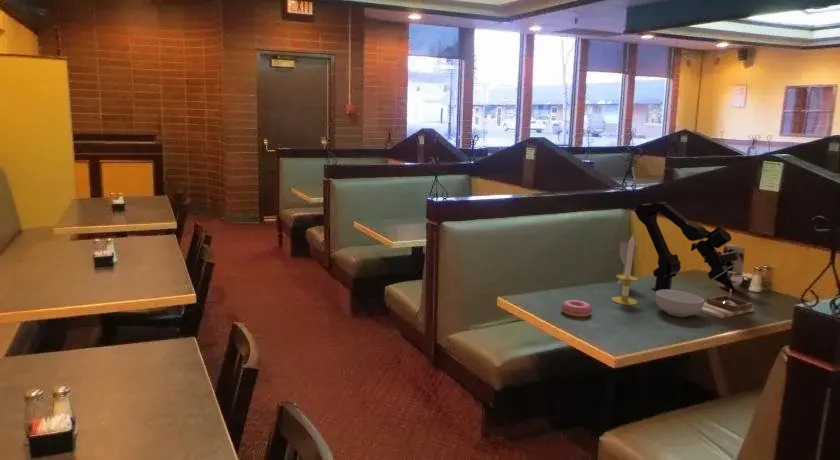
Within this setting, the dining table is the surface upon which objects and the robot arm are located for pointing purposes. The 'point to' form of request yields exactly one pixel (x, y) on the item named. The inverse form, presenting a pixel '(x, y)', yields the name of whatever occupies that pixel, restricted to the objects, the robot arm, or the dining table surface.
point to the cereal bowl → (679, 302)
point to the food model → (738, 263)
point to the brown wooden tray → (725, 306)
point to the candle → (627, 278)
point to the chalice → (624, 256)
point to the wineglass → (736, 280)
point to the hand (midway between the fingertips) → (735, 287)
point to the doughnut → (576, 308)
